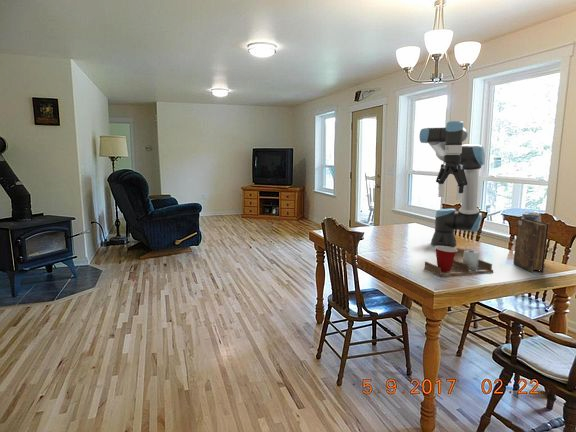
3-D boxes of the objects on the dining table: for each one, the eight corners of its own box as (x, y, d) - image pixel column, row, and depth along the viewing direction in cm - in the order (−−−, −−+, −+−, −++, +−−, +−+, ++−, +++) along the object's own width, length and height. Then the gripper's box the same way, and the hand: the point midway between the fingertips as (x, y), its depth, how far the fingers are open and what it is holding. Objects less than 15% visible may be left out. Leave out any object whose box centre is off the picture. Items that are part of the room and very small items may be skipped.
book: (511, 263, 202) (516, 217, 198) (525, 263, 202) (530, 217, 197) (530, 272, 185) (535, 223, 181) (544, 272, 185) (550, 223, 181)
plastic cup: (459, 274, 183) (461, 250, 181) (436, 273, 185) (437, 249, 183) (452, 267, 194) (454, 245, 192) (430, 267, 195) (432, 244, 193)
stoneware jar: (471, 266, 196) (472, 247, 194) (480, 270, 189) (482, 251, 188) (459, 267, 195) (460, 248, 193) (468, 271, 188) (470, 252, 186)
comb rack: (474, 264, 199) (475, 257, 198) (493, 272, 186) (493, 264, 185) (424, 269, 192) (424, 261, 191) (440, 277, 179) (440, 269, 179)
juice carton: (516, 259, 209) (521, 211, 205) (519, 255, 217) (524, 209, 212) (535, 262, 203) (540, 213, 199) (537, 258, 211) (542, 210, 207)
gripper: (430, 154, 191) (427, 195, 194) (463, 154, 167) (460, 201, 170) (443, 154, 192) (440, 195, 196) (478, 154, 168) (474, 201, 172)
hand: (449, 198), depth 183 cm, fingers open, 13 cm apart
